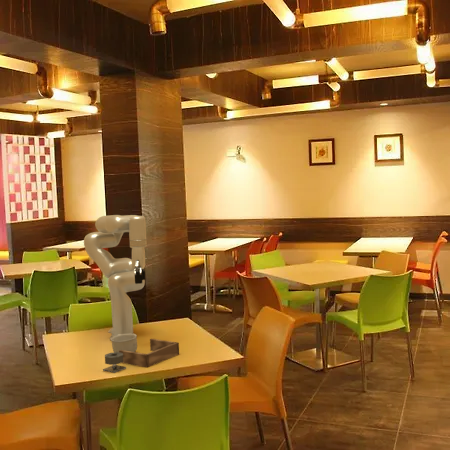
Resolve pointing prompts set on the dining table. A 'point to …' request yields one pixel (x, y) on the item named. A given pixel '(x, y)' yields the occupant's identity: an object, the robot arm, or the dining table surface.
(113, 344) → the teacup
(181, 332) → the dining table surface
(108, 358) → the wheel
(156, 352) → the bay
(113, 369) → the axle mount
